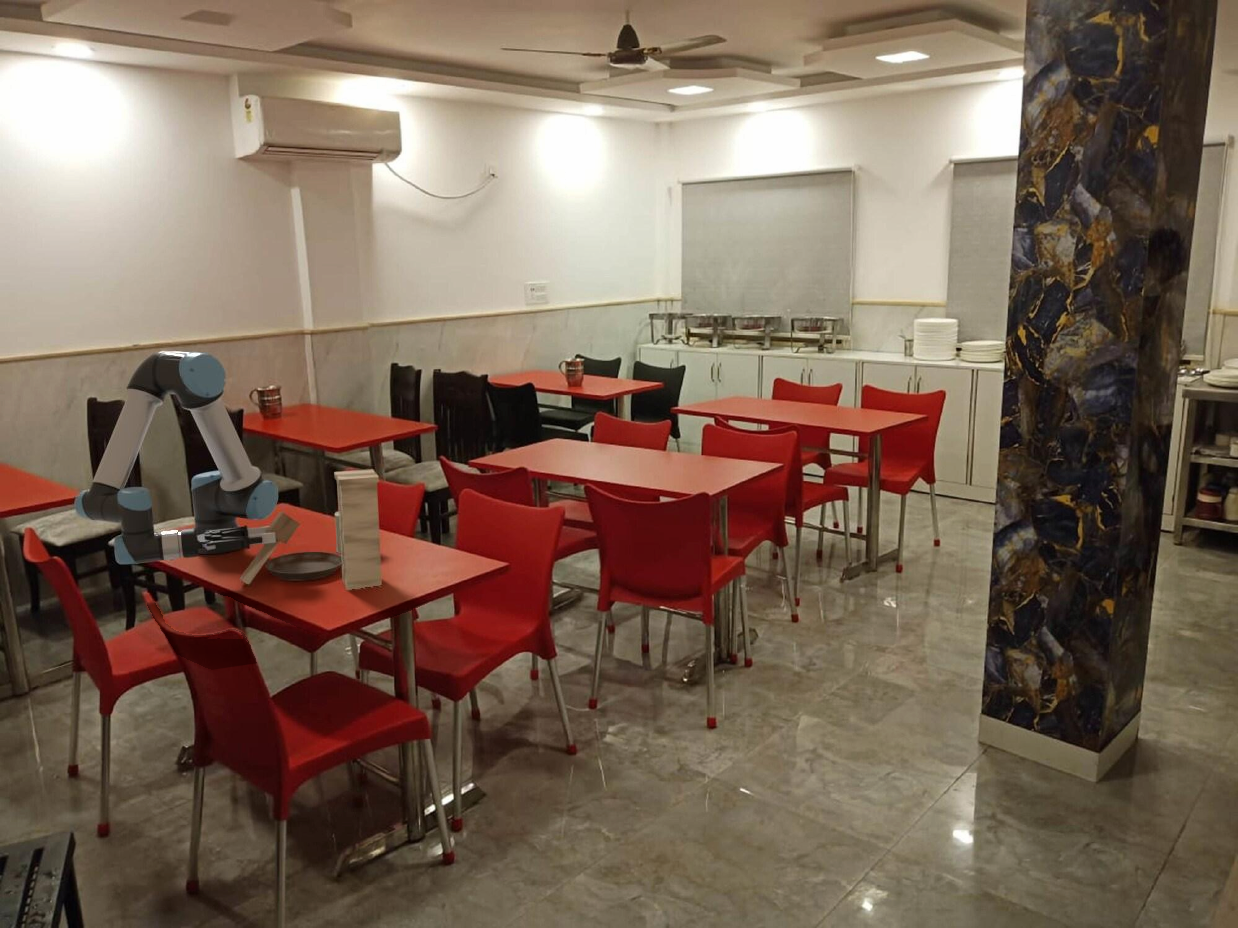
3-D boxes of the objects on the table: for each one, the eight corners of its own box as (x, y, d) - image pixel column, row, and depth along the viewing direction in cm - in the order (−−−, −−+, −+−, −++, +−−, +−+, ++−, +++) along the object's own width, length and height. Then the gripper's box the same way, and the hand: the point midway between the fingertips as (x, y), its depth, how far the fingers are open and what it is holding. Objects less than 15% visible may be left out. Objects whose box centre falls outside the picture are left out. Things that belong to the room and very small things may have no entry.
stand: (340, 579, 267) (334, 472, 261) (377, 575, 271) (372, 469, 265) (345, 591, 258) (339, 479, 252) (384, 586, 262) (378, 476, 256)
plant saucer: (316, 556, 289) (315, 546, 288) (359, 571, 276) (358, 559, 275) (251, 574, 273) (250, 562, 272) (293, 589, 260) (293, 577, 260)
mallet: (251, 586, 266) (234, 575, 264) (297, 522, 271) (280, 511, 269) (254, 588, 261) (236, 577, 259) (300, 523, 266) (282, 512, 264)
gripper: (182, 547, 267) (272, 538, 276) (182, 568, 250) (278, 557, 259) (180, 521, 265) (270, 512, 274) (179, 539, 248) (276, 529, 257)
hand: (274, 534), depth 266 cm, fingers closed on mallet, 6 cm apart
